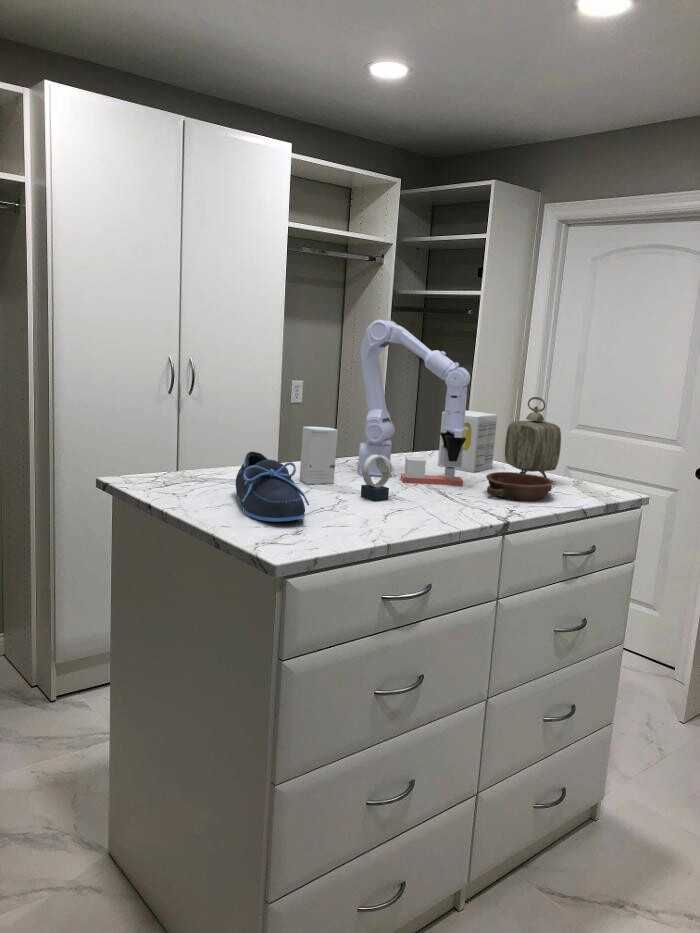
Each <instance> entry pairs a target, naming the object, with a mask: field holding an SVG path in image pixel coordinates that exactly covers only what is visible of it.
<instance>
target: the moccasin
mask: <svg viewBox="0 0 700 933" xmlns="http://www.w3.org/2000/svg"><path fill="white" fill-rule="evenodd" d="M288 466H292V467H293V470H292V472H291V473H290V472H289V469H288ZM296 471H297V468H296V465H295V463H294V462H291V461H289V462H286V463H285V464H282V463H281V462H279V461H277V460H276V459H268V457H266V456H265V455H264V454H263V453H261V452H258V451H249V452H247V453H246V455H245V458H244V460H243V464H242V465H241V467H240V468H239V470H238V472H237V474H236V477H235V491H236V496H237V498H238V499H239V501H240V503H241V506H242V511H243V513H244V514H245V515H246V516H247V517H248V516H249V517H250V518H252V519H255V520H259V521H265V522H272V523H273V522H289V521H295V520H301V519H304V518H305V517H306V515H305V513H306V507H305V503H306V505H307V506H310V503H309V501H308V499H307V497H306V495H305V493H304V492H303V490H301V489H302V488H300V487H299V486H297V484H295V481H293V479H292V477H293V476H295V475H296ZM303 499H304V500H303Z"/></svg>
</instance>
